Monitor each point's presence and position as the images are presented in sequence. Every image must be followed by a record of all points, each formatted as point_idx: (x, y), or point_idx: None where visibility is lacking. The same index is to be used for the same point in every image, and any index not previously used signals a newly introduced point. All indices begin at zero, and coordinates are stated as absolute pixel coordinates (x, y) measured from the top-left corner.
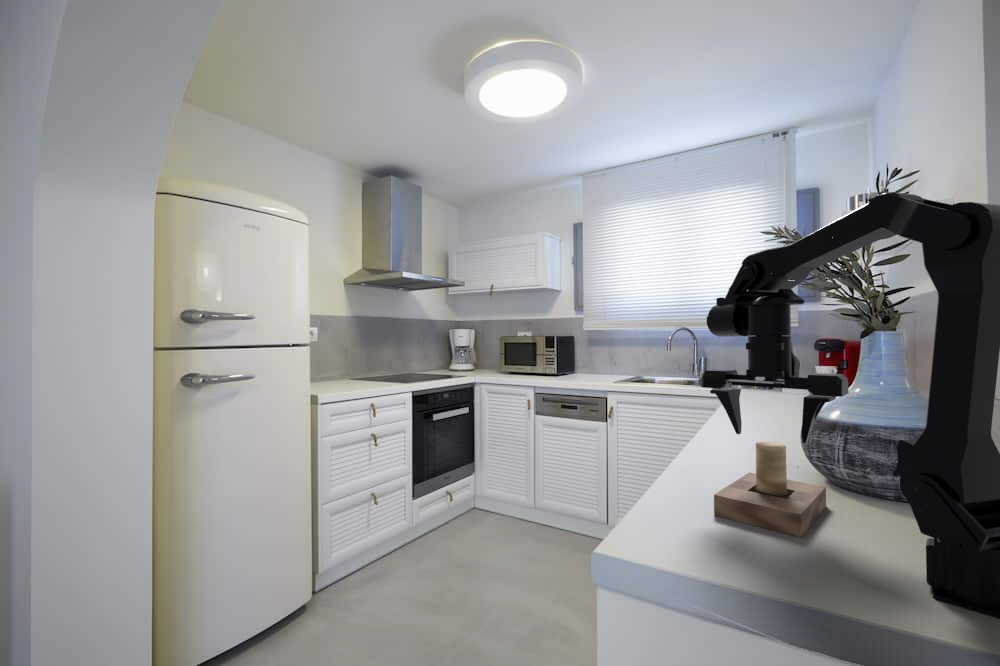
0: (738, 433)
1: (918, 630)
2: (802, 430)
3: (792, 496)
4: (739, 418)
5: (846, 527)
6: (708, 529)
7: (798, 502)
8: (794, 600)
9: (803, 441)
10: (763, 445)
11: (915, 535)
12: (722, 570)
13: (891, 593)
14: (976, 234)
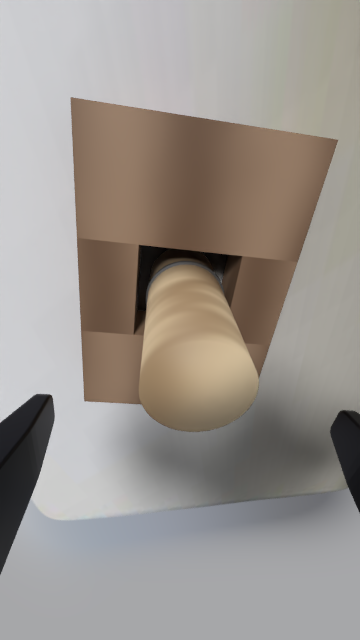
0: (51, 423)
1: (317, 489)
2: (358, 503)
3: (235, 314)
4: (10, 485)
5: (320, 276)
6: (109, 419)
7: (247, 349)
8: (230, 500)
9: (335, 438)
10: (175, 415)
11: None
12: (163, 492)
13: (317, 451)
14: None
